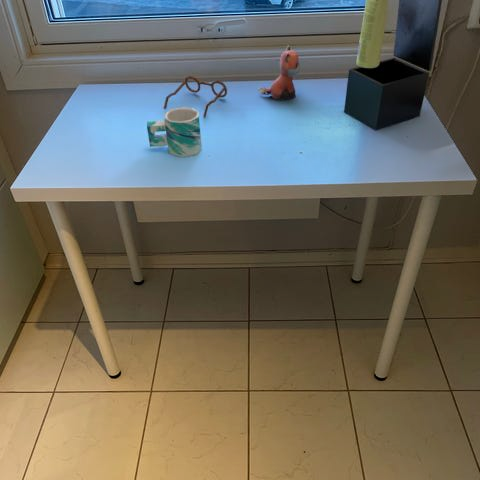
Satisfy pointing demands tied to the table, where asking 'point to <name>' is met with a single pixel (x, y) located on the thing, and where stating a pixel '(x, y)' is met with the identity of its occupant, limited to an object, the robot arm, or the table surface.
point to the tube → (372, 33)
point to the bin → (385, 93)
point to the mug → (177, 132)
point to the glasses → (198, 91)
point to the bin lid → (417, 31)
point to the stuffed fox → (284, 77)
